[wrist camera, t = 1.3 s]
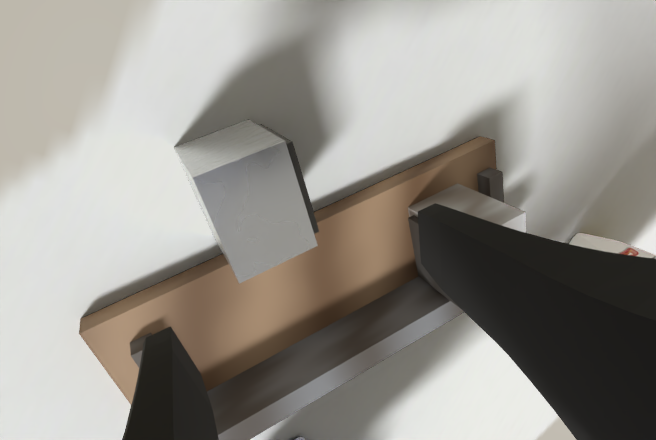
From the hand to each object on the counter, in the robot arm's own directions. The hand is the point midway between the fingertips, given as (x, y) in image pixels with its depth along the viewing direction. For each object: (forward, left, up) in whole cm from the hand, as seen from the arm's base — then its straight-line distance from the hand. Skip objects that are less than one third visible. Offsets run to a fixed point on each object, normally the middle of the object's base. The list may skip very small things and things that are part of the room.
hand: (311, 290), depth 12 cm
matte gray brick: (0, -1, -11) cm, 11 cm away
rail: (-8, -4, -11) cm, 14 cm away
